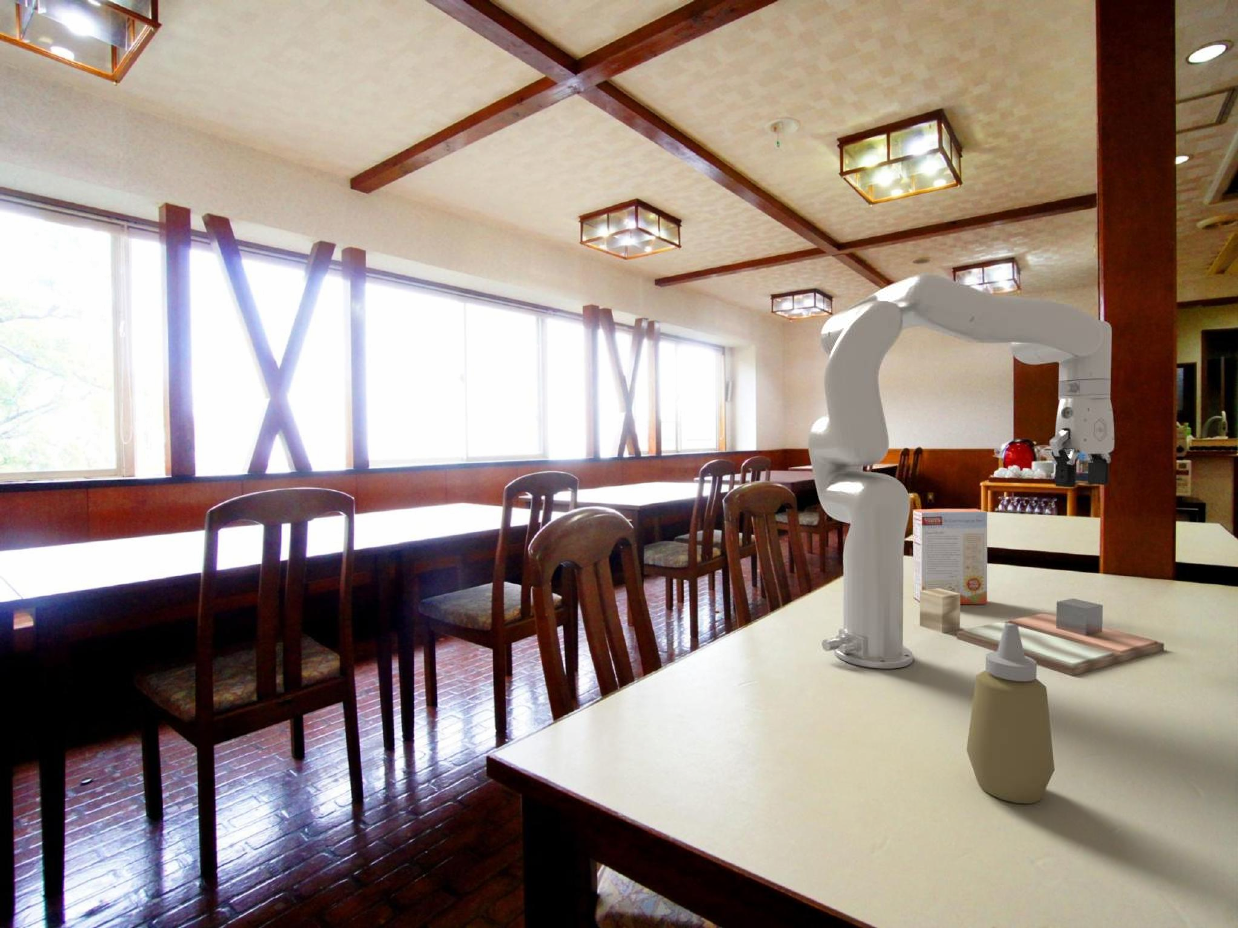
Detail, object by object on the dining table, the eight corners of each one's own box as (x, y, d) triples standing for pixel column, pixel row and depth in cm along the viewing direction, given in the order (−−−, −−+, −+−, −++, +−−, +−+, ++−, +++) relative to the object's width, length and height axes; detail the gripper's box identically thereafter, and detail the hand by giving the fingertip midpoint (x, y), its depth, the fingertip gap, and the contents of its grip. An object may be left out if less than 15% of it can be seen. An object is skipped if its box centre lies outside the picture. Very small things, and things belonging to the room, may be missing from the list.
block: (941, 632, 119) (942, 596, 119) (919, 625, 124) (920, 590, 123) (959, 629, 121) (960, 593, 121) (937, 622, 126) (937, 588, 126)
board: (1071, 675, 98) (1072, 665, 98) (956, 638, 116) (956, 629, 116) (1163, 649, 108) (1164, 640, 108) (1044, 619, 126) (1045, 611, 126)
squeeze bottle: (1019, 768, 71) (1022, 612, 70) (1073, 810, 63) (1077, 636, 62) (950, 770, 71) (952, 614, 70) (995, 813, 63) (998, 638, 62)
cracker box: (975, 598, 143) (976, 507, 142) (987, 605, 137) (989, 511, 136) (911, 597, 145) (912, 508, 144) (921, 604, 139) (922, 511, 138)
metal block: (1085, 635, 111) (1086, 608, 111) (1056, 628, 116) (1056, 601, 116) (1102, 631, 113) (1102, 604, 113) (1072, 624, 118) (1073, 598, 118)
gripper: (1077, 388, 106) (1075, 489, 106) (1135, 390, 113) (1133, 484, 113) (1032, 391, 112) (1030, 486, 113) (1089, 393, 119) (1088, 482, 120)
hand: (1081, 485), depth 113 cm, fingers open, 9 cm apart
